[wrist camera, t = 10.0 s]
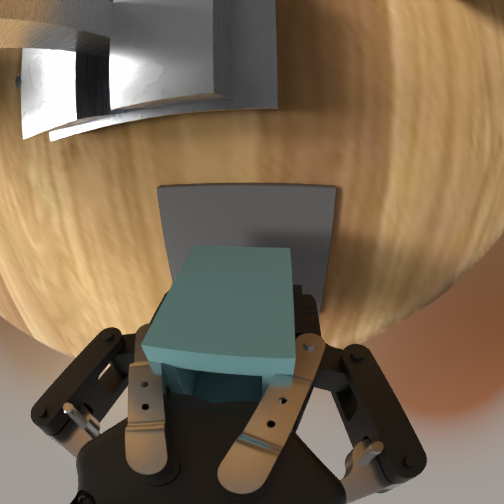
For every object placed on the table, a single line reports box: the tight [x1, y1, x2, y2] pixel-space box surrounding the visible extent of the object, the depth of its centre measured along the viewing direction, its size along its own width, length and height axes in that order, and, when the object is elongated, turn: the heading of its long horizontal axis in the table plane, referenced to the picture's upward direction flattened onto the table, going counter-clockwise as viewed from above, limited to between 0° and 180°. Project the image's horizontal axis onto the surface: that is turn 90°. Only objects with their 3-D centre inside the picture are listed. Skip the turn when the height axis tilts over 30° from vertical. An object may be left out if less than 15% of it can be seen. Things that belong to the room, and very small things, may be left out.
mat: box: [157, 183, 336, 317], centre depth 18 cm, size 11×10×1 cm
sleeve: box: [141, 246, 296, 403], centre depth 12 cm, size 5×5×7 cm
